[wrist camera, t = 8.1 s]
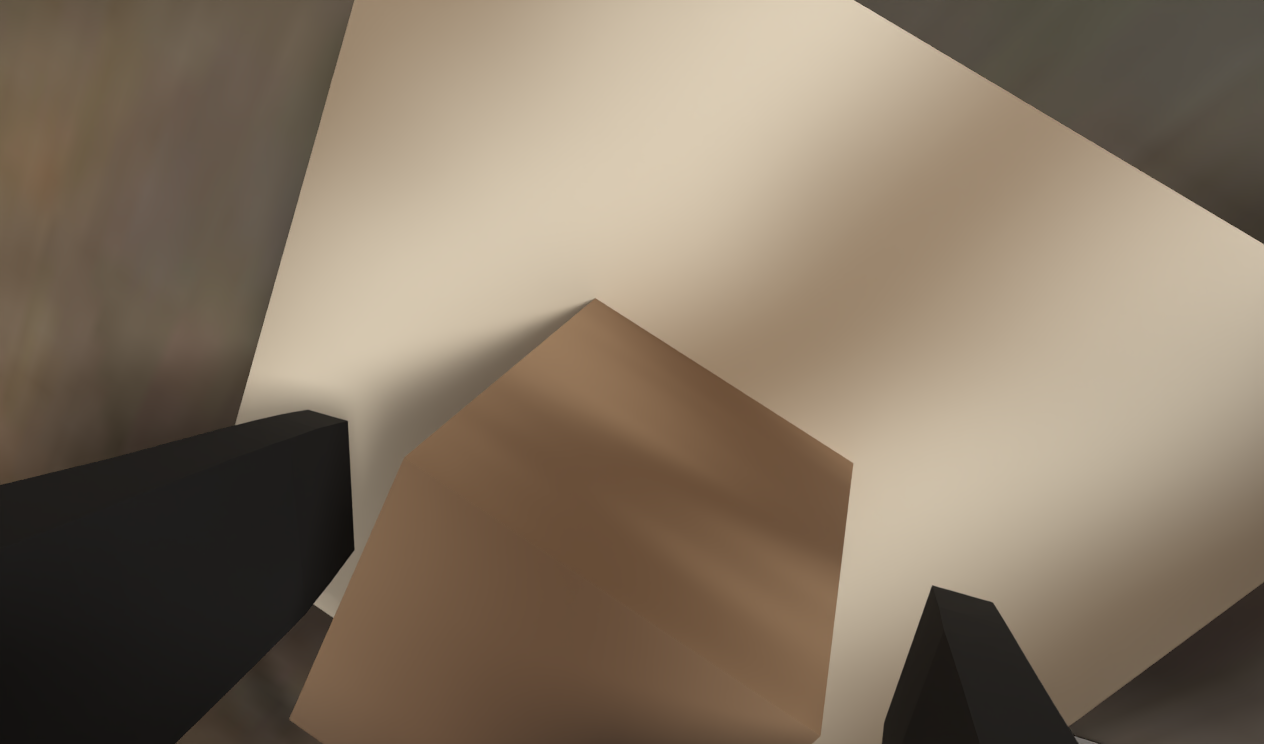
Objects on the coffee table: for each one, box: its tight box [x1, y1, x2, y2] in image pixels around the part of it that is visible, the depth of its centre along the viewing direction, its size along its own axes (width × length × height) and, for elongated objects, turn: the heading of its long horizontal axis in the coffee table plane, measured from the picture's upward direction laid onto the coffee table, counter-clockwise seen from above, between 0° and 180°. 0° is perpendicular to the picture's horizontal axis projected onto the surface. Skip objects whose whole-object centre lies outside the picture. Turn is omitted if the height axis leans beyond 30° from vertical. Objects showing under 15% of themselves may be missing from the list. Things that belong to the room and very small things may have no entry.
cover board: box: [235, 0, 1264, 744], centre depth 9 cm, size 13×13×5 cm
